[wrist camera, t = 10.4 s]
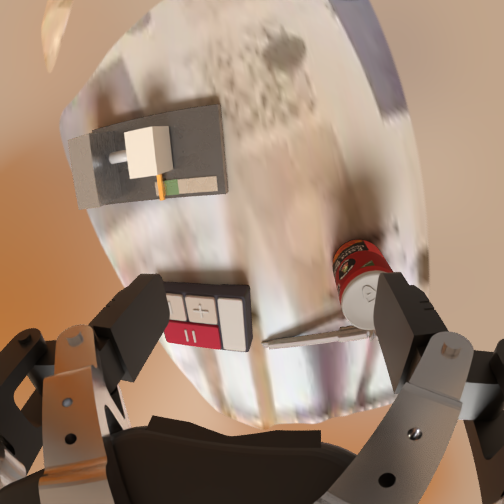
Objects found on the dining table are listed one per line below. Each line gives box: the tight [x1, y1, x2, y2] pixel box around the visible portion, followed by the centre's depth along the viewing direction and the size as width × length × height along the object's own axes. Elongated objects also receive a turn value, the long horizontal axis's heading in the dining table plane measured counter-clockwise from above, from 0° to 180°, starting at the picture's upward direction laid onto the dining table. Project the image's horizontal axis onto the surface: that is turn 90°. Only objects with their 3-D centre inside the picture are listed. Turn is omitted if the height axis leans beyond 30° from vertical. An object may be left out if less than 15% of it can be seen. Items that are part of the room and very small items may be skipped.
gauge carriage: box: [109, 126, 173, 200], centre depth 36 cm, size 10×8×5 cm
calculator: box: [163, 282, 253, 352], centre depth 47 cm, size 11×4×15 cm
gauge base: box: [68, 104, 228, 210], centre depth 36 cm, size 12×20×8 cm, turn 94°
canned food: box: [333, 240, 393, 330], centre depth 36 cm, size 8×8×11 cm
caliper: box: [262, 326, 379, 349], centre depth 44 cm, size 20×1×6 cm, turn 112°
